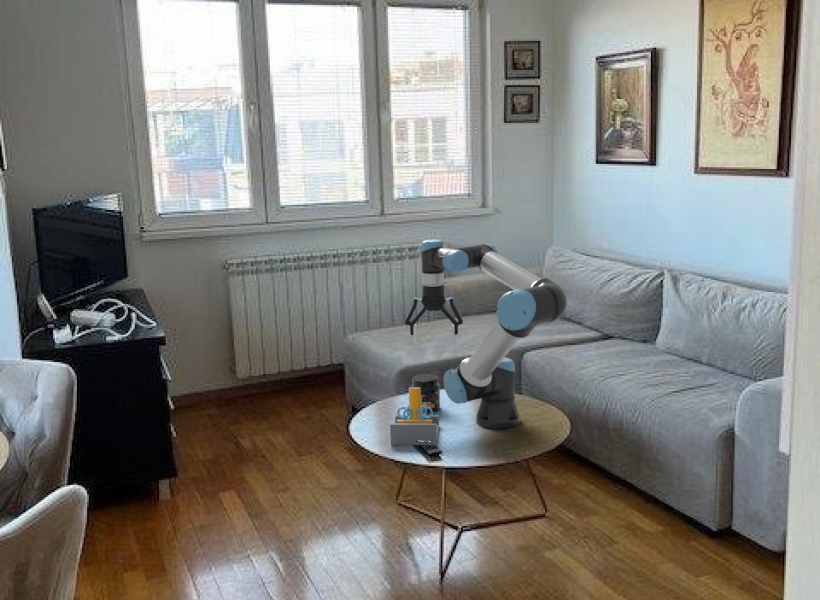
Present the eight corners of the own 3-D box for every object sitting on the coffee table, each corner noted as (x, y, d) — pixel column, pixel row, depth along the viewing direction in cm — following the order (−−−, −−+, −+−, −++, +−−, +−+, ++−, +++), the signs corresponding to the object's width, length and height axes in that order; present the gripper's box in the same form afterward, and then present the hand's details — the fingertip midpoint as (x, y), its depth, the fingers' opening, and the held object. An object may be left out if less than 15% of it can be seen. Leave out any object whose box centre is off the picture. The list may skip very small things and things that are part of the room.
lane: (438, 426, 292) (438, 407, 290) (436, 445, 274) (436, 424, 273) (395, 426, 293) (395, 407, 291) (390, 445, 275) (390, 424, 274)
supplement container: (410, 413, 306) (409, 381, 303) (413, 404, 316) (412, 373, 314) (438, 413, 304) (438, 382, 302) (441, 404, 315) (441, 373, 312)
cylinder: (395, 434, 280) (394, 389, 280) (399, 429, 291) (398, 386, 291) (431, 434, 279) (431, 389, 279) (434, 429, 289) (434, 386, 289)
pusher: (432, 436, 281) (432, 419, 280) (432, 438, 280) (431, 421, 278) (397, 436, 282) (397, 419, 281) (397, 438, 281) (396, 421, 279)
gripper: (469, 282, 295) (469, 340, 300) (398, 282, 297) (400, 341, 301) (469, 285, 288) (469, 346, 292) (396, 286, 290) (398, 346, 294)
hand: (434, 343), depth 297 cm, fingers open, 13 cm apart
